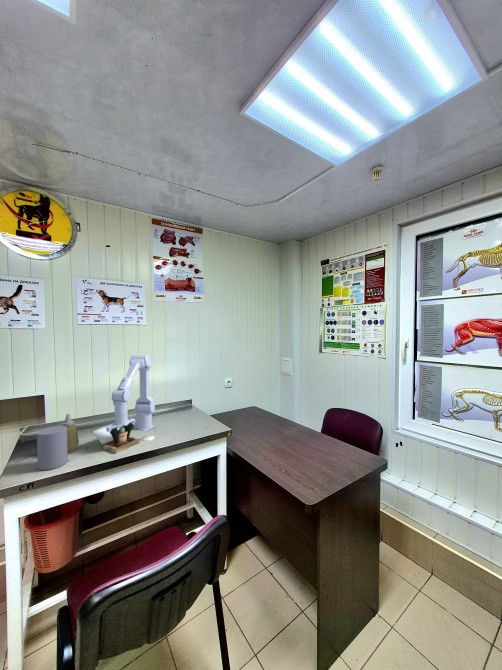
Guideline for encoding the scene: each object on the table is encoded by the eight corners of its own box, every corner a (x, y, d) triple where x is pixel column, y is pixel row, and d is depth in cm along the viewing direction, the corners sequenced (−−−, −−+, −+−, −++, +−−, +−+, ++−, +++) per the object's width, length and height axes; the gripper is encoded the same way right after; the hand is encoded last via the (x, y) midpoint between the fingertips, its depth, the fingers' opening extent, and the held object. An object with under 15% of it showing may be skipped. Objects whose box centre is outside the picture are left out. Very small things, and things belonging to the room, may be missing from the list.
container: (36, 473, 107) (36, 436, 107) (38, 463, 115) (37, 429, 115) (67, 465, 113) (67, 430, 113) (67, 456, 121) (66, 424, 121)
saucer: (137, 440, 139) (137, 439, 139) (148, 435, 145) (148, 434, 145) (147, 442, 136) (147, 441, 136) (157, 437, 142) (157, 436, 142)
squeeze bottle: (63, 457, 121) (62, 418, 120) (55, 453, 125) (54, 415, 125) (82, 450, 127) (81, 413, 127) (73, 446, 132) (73, 410, 131)
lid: (102, 443, 128) (102, 444, 128) (126, 434, 139) (126, 435, 139) (91, 430, 132) (91, 431, 132) (115, 422, 143) (115, 423, 143)
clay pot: (113, 444, 130) (112, 428, 130) (123, 440, 135) (122, 424, 135) (120, 446, 127) (120, 429, 127) (130, 442, 132) (129, 426, 132)
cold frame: (97, 448, 129) (97, 438, 129) (123, 438, 142) (123, 429, 142) (116, 454, 123) (116, 444, 123) (141, 442, 136) (141, 433, 135)
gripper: (112, 419, 123) (113, 448, 123) (139, 410, 135) (139, 437, 136) (103, 417, 126) (103, 445, 126) (129, 409, 139) (130, 434, 139)
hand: (121, 441), depth 131 cm, fingers closed on clay pot, 5 cm apart
